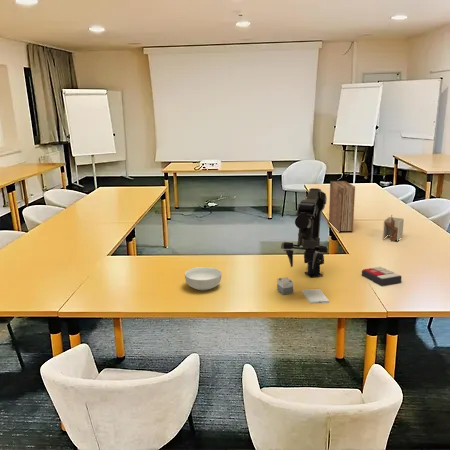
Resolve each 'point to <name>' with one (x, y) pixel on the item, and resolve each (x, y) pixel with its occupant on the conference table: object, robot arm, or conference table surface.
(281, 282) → the box
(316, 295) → the hard drive
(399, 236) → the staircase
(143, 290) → the conference table surface
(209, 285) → the cereal bowl
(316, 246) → the robot arm
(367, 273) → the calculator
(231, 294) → the conference table surface
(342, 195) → the brown wooden block
